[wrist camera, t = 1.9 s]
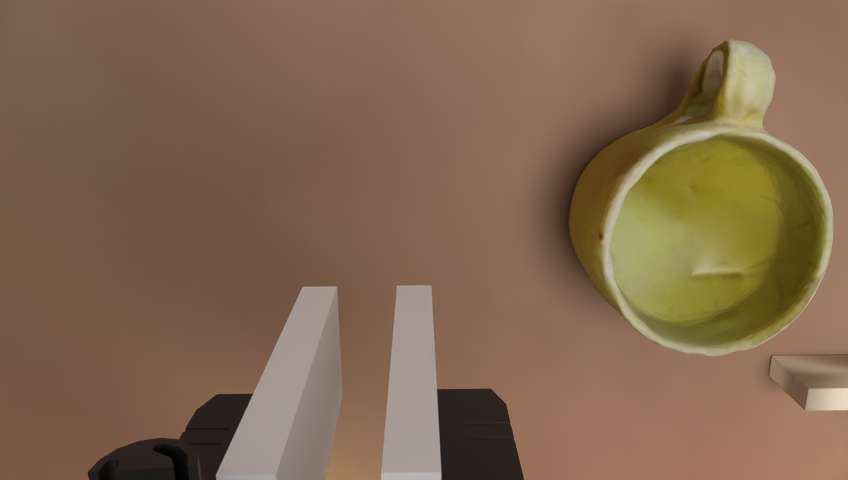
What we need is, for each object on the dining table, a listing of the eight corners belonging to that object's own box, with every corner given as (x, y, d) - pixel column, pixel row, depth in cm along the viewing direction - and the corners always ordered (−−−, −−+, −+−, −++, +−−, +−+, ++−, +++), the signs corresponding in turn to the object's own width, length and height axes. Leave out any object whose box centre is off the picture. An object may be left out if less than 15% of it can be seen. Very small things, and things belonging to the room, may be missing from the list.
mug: (731, 357, 33) (796, 406, 24) (540, 281, 36) (527, 298, 26) (828, 128, 32) (938, 80, 23) (625, 64, 35) (645, -4, 25)
